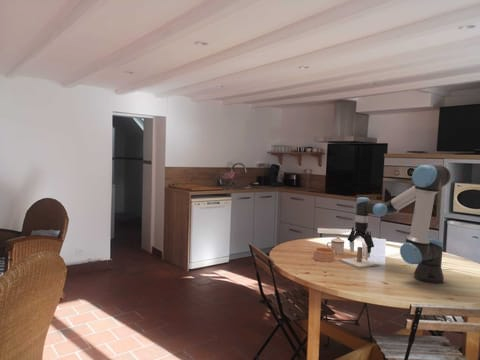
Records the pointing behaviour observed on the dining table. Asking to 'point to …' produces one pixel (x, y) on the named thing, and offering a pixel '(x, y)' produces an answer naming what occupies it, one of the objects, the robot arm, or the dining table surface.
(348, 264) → the mat
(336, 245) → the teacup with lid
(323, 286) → the dining table surface
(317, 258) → the bowl
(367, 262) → the lid
